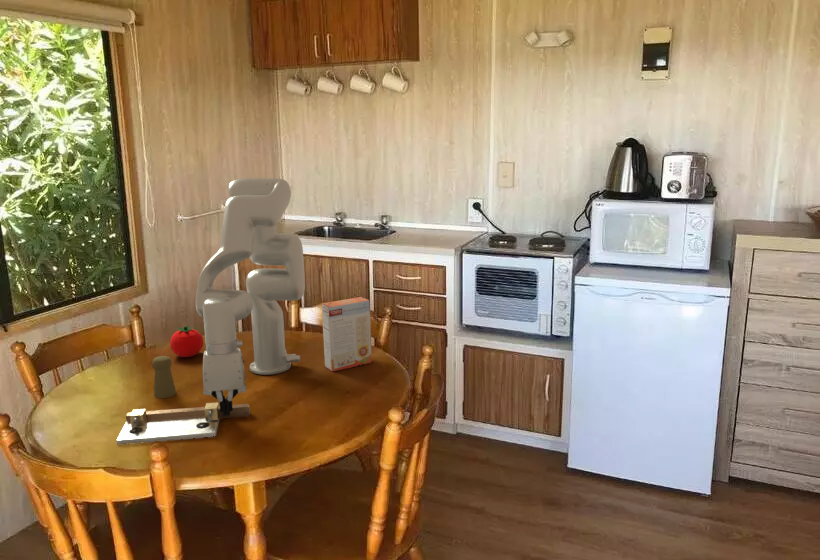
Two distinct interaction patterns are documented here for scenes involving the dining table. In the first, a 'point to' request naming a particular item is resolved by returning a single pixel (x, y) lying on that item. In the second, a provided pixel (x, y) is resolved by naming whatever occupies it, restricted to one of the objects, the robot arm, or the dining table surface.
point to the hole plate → (173, 424)
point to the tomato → (186, 342)
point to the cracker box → (346, 333)
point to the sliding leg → (211, 411)
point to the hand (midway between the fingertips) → (226, 413)
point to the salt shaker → (163, 377)
